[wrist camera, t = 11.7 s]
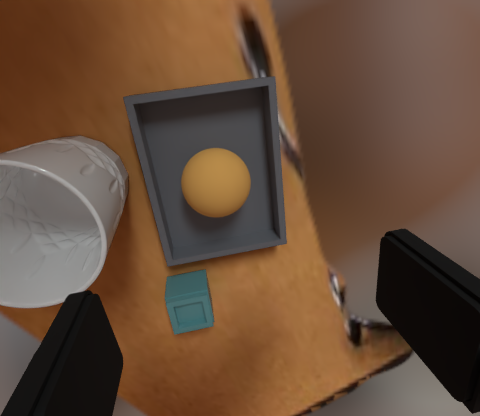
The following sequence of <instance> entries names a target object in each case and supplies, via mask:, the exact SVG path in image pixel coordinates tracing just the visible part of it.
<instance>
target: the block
mask: <svg viewBox="0 0 480 416" xmlns="http://www.w3.org/2000/svg"><path fill="white" fill-rule="evenodd" d="M165 301H166V306H167V310H168V314H169V317H170V321H171V324H172V328H173V331H174V335H175V334H180V333H184V332H189V331H193V330H198V329H203V328H207V327H212V326H213V322H214V315H213V306H212V298H211V293H210V288H209V283H208V278H207V273H206V269H205V270H200V271H195V272H189V273H184V274H179V275H174V276H169V277H167V281H166V291H165Z"/></svg>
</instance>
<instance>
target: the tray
mask: <svg viewBox="0 0 480 416" xmlns="http://www.w3.org/2000/svg"><path fill="white" fill-rule="evenodd" d="M123 99H124V103H125V106H126V110H127V114H128V118H129V122H130V125H131V129H132V133H133V137H134V141H135V144H136V148H137V152H138V156H139V160H140V163H141V167H142V171H143V175H144V179H145V183H146V186H147V190H148V194H149V198H150V202H151V205H152V209H153V213H154V217H155V221H156V224H157V228H158V232H159V236H160V240H161V243H162V247H163V251H164V255H165V259H166V262H167V266H173V265H179V264H184V263H189V262H194V261H199V260H204V259H210V258H215V257H220V256H225V255H230V254H236V253H241V252H246V251H251V250H256V249H261V248H267V247H272V246H277V245H282V244H287V240H286V226H285V211H284V197H283V183H282V168H281V154H280V140H279V125H278V111H277V96H276V82H275V76H274V77H262V78H255V79H248V80H240V81H233V82H226V83H218V84H211V85H204V86H196V87H189V88H182V89H174V90H167V91H160V92H152V93H145V94H137V95H130V96H126V97H123ZM209 148H222V149H226V150H229V151H231V152H233V153H235V154H236V155H237V156H239V157H240V158H241V159H242V161H243V162H244V163H245V165H246V166H247V168H248V171H249V174H250V179H251V186H250V192H249V195H248V197H247V199H246V201H245V203H244V204H243V205H242V206H241V208H239V209H238V210H237V211H236V212H234V213H232V214H230V215H228V216H224V217H208V216H204V215H202V214H200V213H198V212H197V211H195V210H194V209H193V208H192V207H191V206H190V205H189V204H188V203H187V201H186V199H185V197H184V195H183V192H182V187H181V177H182V173H183V170H184V168H185V166H186V164H187V162H188V161H189V160H190V159H191V158H192V157H193V156H194V155H195V154H197V153H199V152H200V151H203V150H205V149H209Z"/></svg>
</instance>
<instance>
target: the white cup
mask: <svg viewBox="0 0 480 416" xmlns="http://www.w3.org/2000/svg"><path fill="white" fill-rule="evenodd" d="M127 195H128V173H127V171H126V169H125V167H124V165H123V163H122V161H121V159H120V157H119V156H118V155H117V154H116V153H115V152H113V151H112V150H111V149H110V148H109V147H107V146H106V145H105V144H104V143H103V142H100V141H97V140H93V139H90V138H87V137H84V136H70V137H61V138H56V139H52V140H46V141H42V142H38V143H35V144H31V145H27V146H23V147H19V148H16V149H13V150H9V151H6V152H3V153H0V305H2V306H7V307H15V308H41V307H48V306H52V305H56V304H60V303H63V302H64V301H65V299H66V297H67V296H68V295H69V294H72V293H77V292H82V291H85V290H86V289H87V288H88V287H89V286H90V285H91V284H92V283H93V282H94V281H95V280H96V278H97V277H98V275H99V274H100V272H101V270H102V268H103V265H104V263H105V260H106V257H107V254H108V252H109V249H110V246H111V243H112V241H113V238H114V235H115V233H116V230H117V227H118V225H119V222H120V218H121V215H122V212H123V209H124V204H125V200H126V197H127Z"/></svg>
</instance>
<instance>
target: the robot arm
mask: <svg viewBox="0 0 480 416" xmlns="http://www.w3.org/2000/svg"><path fill="white" fill-rule="evenodd" d="M376 303H377V306H378V308H379V309H380V310H381V312H382V313H383V314H384V316H385V317H386V318H387V319H388V320H389V322H390V323H391V324H392V325H393V326H394V328H395V329H396V330H397V331H398V332H399V334H400V335H401V336H402V337H403V338H404V339H405V341H406V342H407V343H408V344H409V345H410V347H411V348H412V349H413V350H414V351H415V353H416V354H417V355H418V356H419V357H420V359H421V360H422V361H423V362H424V363H425V365H426V366H427V367H428V368H429V369H430V370H431V372H432V373H433V374H434V375H435V376H436V378H437V379H438V380H439V381H440V382H441V384H442V385H443V386H444V387H445V388H446V389H447V391H448V392H449V393H450V394H451V396H452V397H454V399H456V400H457V401H459V402H463V404H464V405H465V406H466V407H467V408H468V410H469V411H470V412H471V413H472V414H473V413H476V412H480V279H479V278H477V277H476V276H474V275H473V274H471V273H470V272H468V271H467V270H465V269H464V268H462V267H461V266H459V265H458V264H457V263H455V262H454V261H452V260H450V259H449V258H448V257H446V256H445V255H443V254H442V253H440V252H439V251H437V250H436V249H435V248H433V247H432V246H430V245H429V244H427V243H426V242H424V241H423V240H421V239H420V238H418V237H417V236H416V235H414V234H412V233H411V232H409V231H408V230H406V229H399V230H394V231H389V232H386V234H385V236H384V237H382V239H381V242H380V254H379V267H378V279H377V292H376ZM122 369H123V356H122V353H121V350H120V348H119V345H118V343H117V340H116V338H115V335H114V333H113V330H112V328H111V325H110V323H109V320H108V318H107V315H106V312H105V310H104V307H103V305H102V302H101V300H100V297H99V295H98V294H93V293H92V292H91V291H89V290H87V291H82V292H77V293H72V294H69V295H68V296H67V297H66V299H65V301H64V303H63V305H62V306H61V308H60V310H59V312H58V314H57V315H56V317H55V319H54V321H53V323H52V325H51V326H50V328H49V330H48V332H47V334H46V336H45V337H44V339H43V341H42V343H41V345H40V347H39V348H38V350H37V351H36V353H35V354H34V356H33V358H32V360H31V362H30V363H29V365H28V367H27V369H26V371H25V372H24V374H23V376H22V378H21V380H20V382H19V383H18V385H17V387H16V389H15V391H14V392H13V394H12V396H11V398H10V400H9V401H8V403H7V405H6V407H5V409H4V410H3V412H2V414H1V416H112V414H113V410H114V405H115V400H116V396H117V391H118V387H119V382H120V378H121V373H122Z"/></svg>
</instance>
